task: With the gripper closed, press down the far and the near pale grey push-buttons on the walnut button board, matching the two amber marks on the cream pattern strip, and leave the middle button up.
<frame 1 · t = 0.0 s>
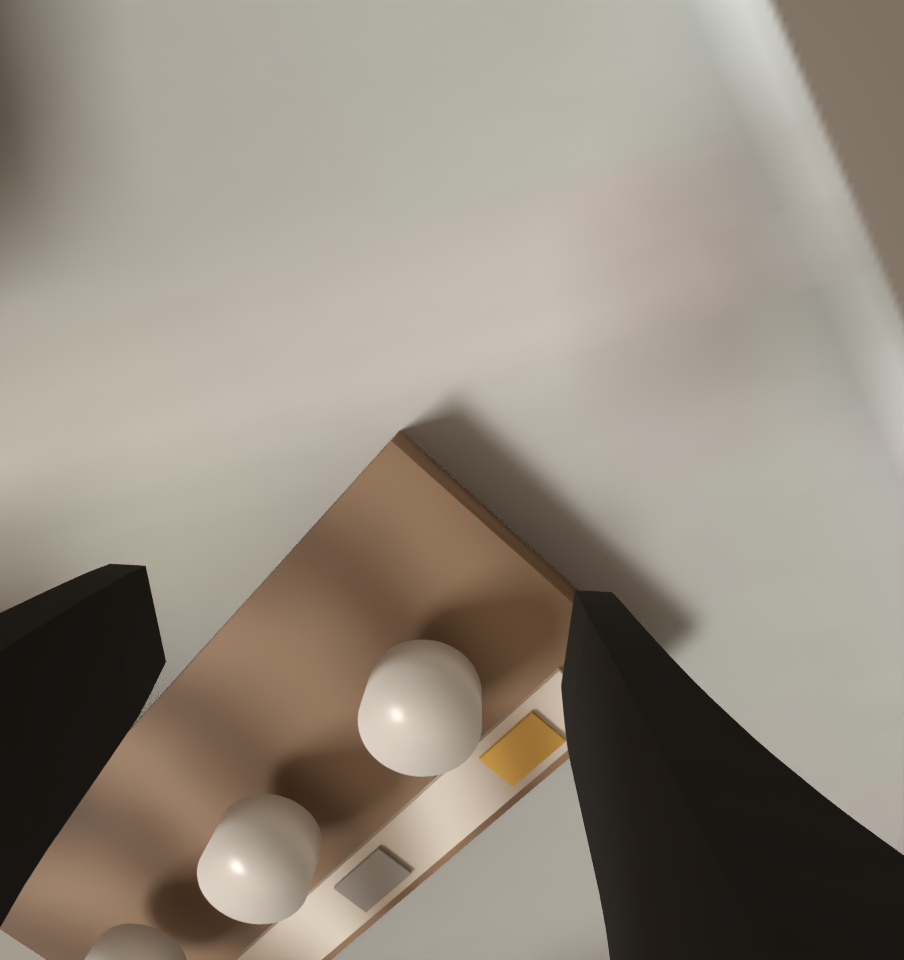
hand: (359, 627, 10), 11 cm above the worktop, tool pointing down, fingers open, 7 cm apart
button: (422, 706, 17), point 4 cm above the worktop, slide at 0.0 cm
button board: (299, 765, 23), on the worktop
middle button: (261, 857, 19), point 4 cm above the worktop, slide at 0.0 cm
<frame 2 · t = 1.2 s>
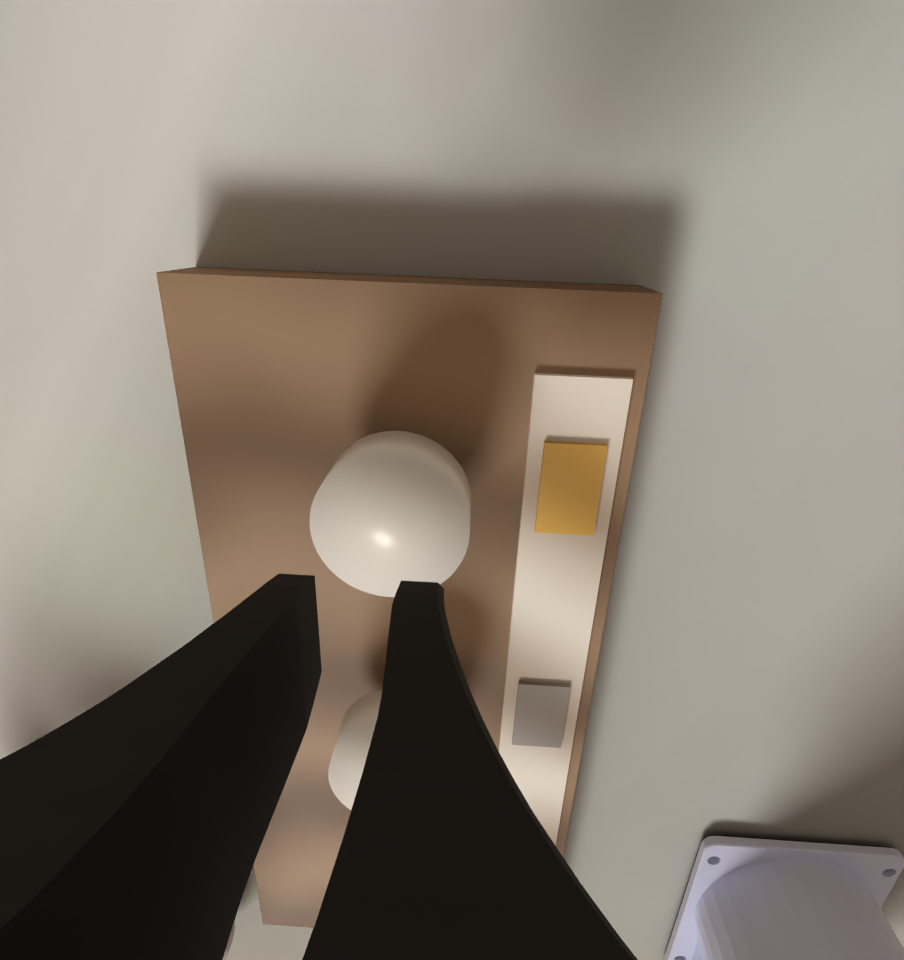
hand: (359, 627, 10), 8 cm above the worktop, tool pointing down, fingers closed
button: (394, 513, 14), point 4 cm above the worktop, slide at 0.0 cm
button board: (411, 658, 21), on the worktop
middle button: (395, 756, 17), point 4 cm above the worktop, slide at 0.0 cm
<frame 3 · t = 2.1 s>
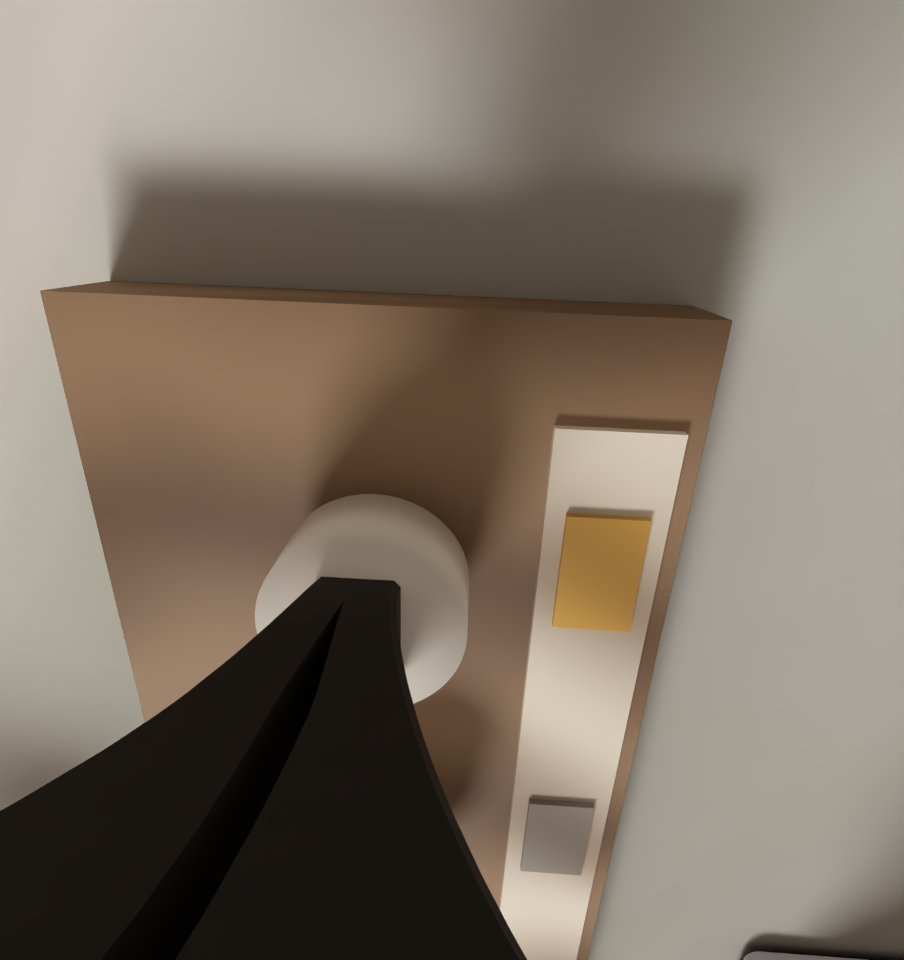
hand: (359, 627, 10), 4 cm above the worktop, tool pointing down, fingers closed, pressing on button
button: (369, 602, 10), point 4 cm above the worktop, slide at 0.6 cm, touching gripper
button board: (397, 752, 17), on the worktop
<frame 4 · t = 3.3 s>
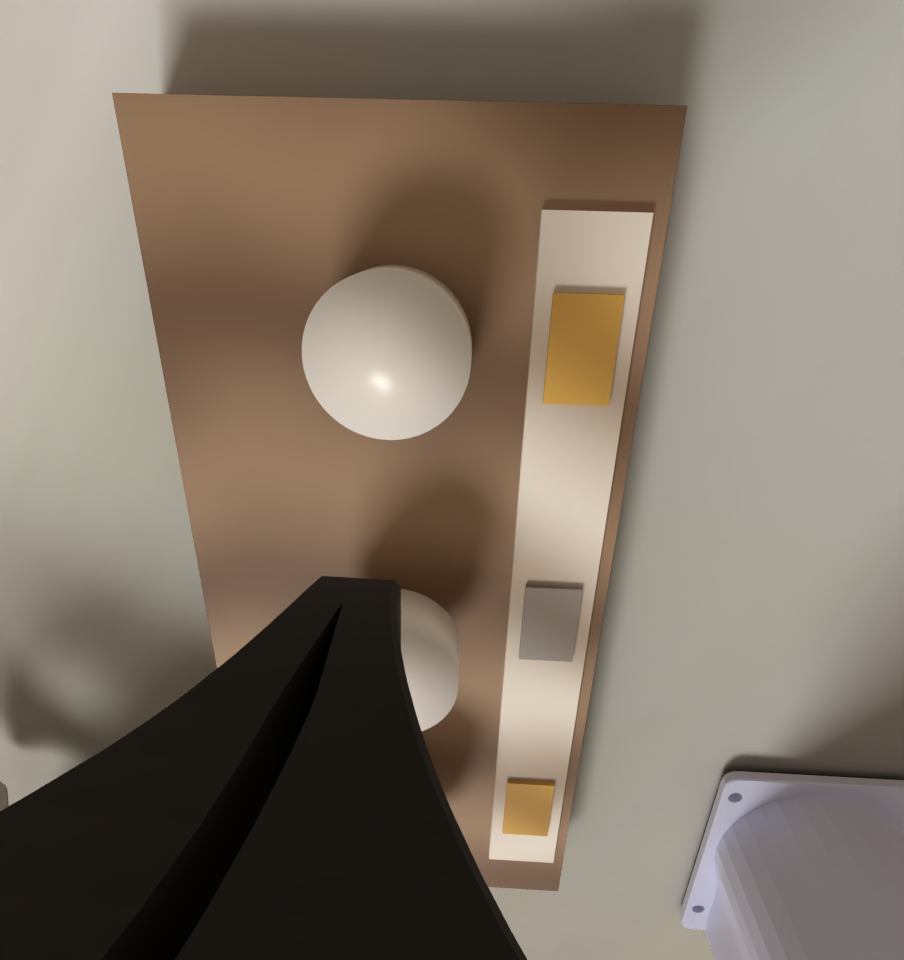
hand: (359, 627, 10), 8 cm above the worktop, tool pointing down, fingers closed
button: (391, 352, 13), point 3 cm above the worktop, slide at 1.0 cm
button board: (409, 574, 19), on the worktop
middle button: (391, 662, 15), point 4 cm above the worktop, slide at 0.0 cm
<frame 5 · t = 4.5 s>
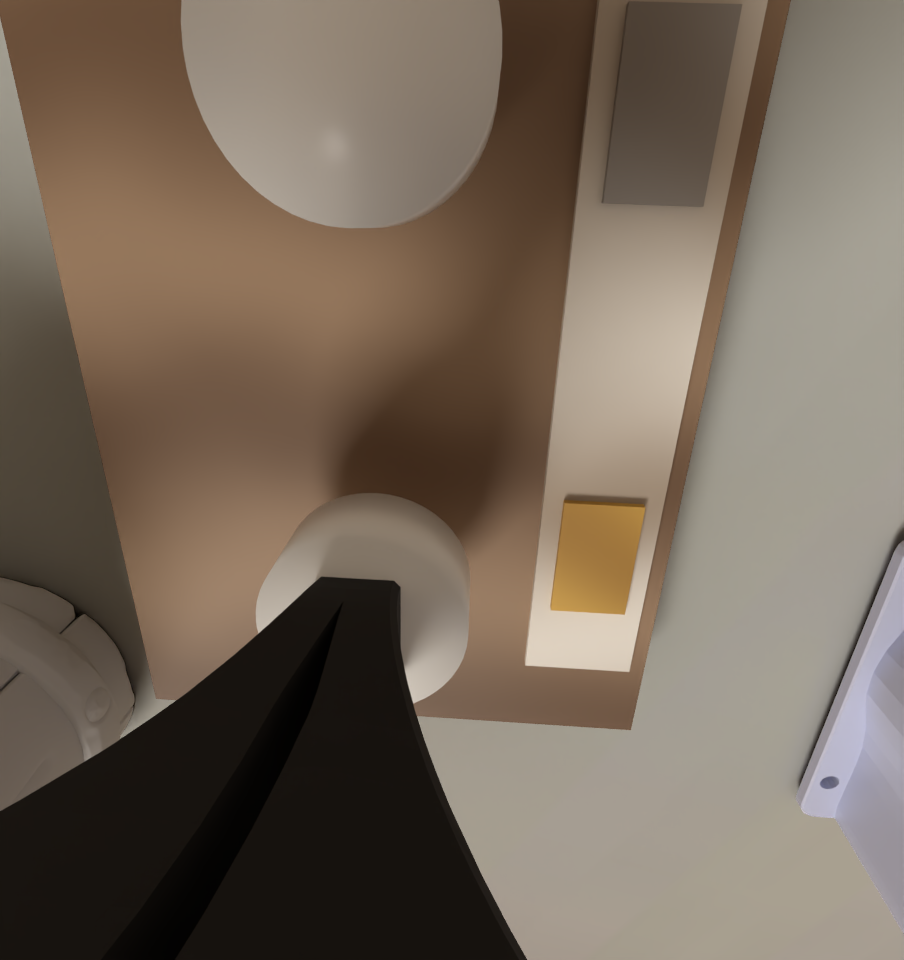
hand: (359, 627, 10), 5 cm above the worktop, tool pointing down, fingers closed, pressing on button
button board: (400, 125, 11), on the worktop
middle button: (355, 70, 7), point 4 cm above the worktop, slide at 0.0 cm
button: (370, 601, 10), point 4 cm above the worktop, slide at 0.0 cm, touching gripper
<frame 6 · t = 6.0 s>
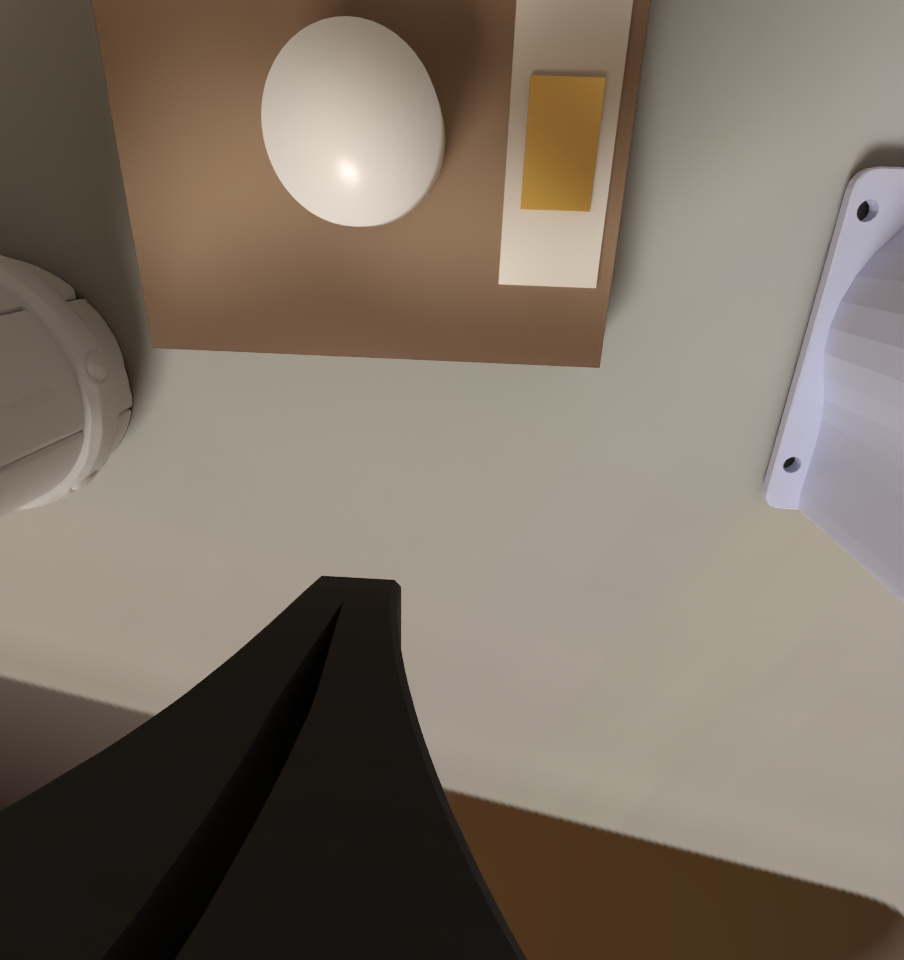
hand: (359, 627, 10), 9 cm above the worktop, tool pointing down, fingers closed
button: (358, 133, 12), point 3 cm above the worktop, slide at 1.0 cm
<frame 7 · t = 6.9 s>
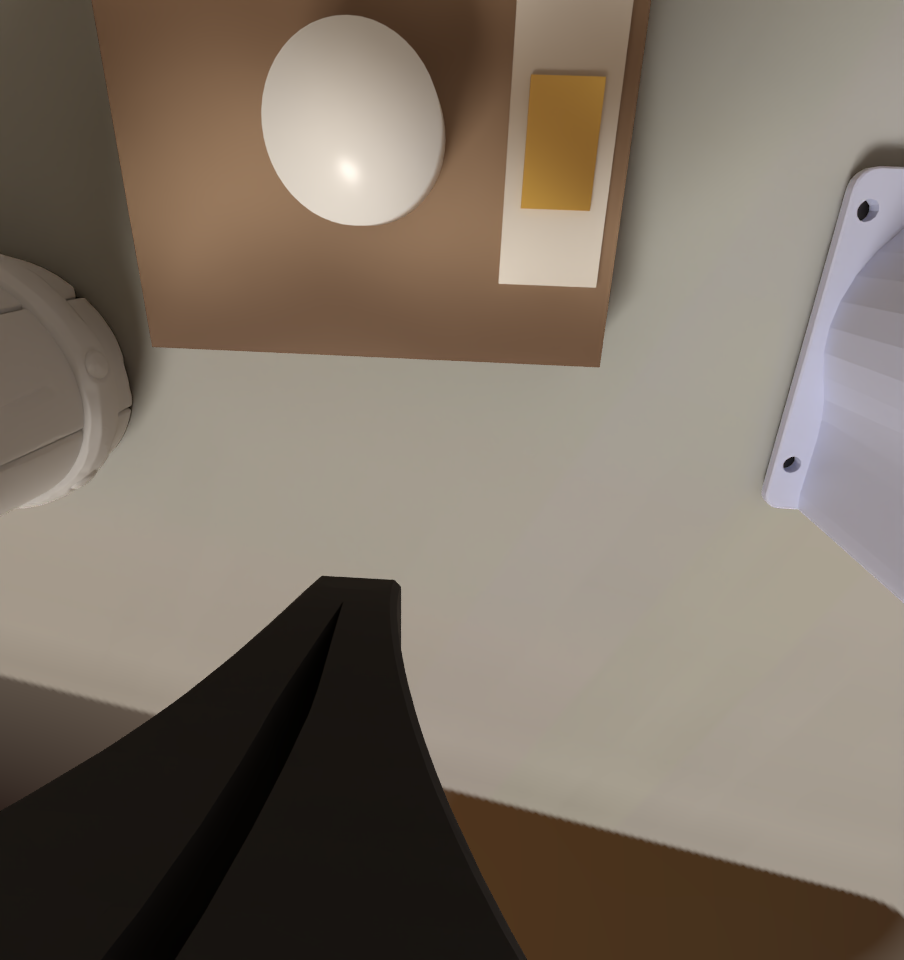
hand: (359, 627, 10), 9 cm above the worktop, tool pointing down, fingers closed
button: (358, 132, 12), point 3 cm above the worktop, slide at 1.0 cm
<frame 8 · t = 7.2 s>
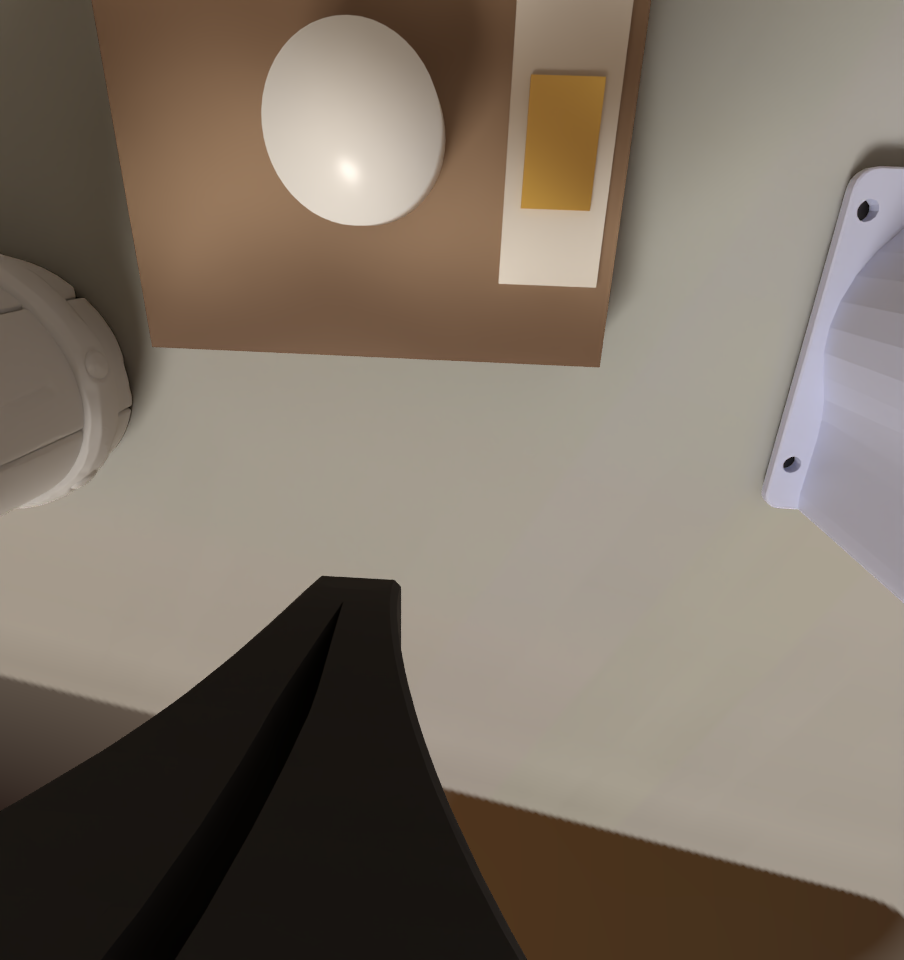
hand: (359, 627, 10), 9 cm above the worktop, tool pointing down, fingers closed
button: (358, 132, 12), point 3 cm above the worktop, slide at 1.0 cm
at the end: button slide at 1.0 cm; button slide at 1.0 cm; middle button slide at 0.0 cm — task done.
